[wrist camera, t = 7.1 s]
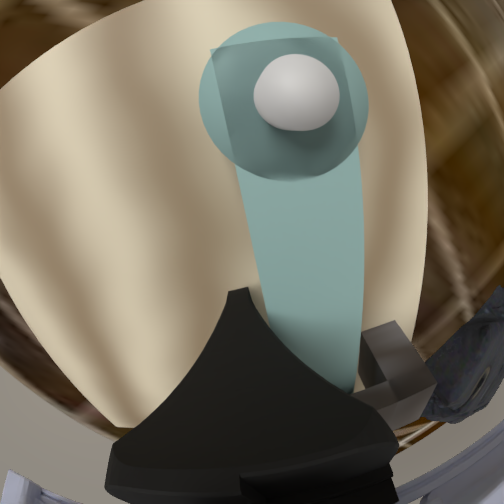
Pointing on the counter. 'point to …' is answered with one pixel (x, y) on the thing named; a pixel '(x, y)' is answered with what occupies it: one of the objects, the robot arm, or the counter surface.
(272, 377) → the robot arm
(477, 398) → the dark grey cloth
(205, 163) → the keeper board
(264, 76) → the link
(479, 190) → the counter surface
